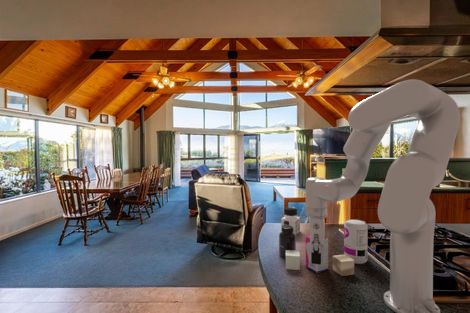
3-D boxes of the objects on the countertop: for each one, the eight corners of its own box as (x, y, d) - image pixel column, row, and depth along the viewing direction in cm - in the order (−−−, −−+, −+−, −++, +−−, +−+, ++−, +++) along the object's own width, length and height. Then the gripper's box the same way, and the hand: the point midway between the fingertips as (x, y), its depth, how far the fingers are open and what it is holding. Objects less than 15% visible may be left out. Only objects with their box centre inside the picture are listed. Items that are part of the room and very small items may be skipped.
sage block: (299, 270, 89) (299, 256, 89) (285, 268, 90) (285, 255, 90) (299, 263, 94) (299, 250, 94) (285, 262, 95) (285, 250, 95)
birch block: (354, 274, 86) (354, 260, 86) (341, 276, 85) (341, 261, 84) (344, 267, 91) (344, 254, 90) (332, 269, 89) (332, 255, 89)
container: (295, 235, 125) (295, 210, 125) (281, 233, 129) (280, 208, 129) (300, 231, 132) (300, 207, 131) (286, 229, 136) (286, 205, 136)
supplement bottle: (276, 257, 100) (276, 227, 100) (281, 250, 106) (281, 223, 106) (293, 260, 97) (293, 230, 97) (297, 253, 103) (297, 225, 103)
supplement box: (328, 269, 89) (328, 238, 89) (317, 273, 86) (316, 241, 86) (316, 263, 94) (316, 233, 94) (305, 266, 92) (304, 236, 91)
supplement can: (344, 262, 94) (344, 223, 94) (343, 254, 102) (343, 218, 102) (368, 266, 91) (368, 225, 91) (365, 257, 99) (365, 219, 99)
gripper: (328, 218, 81) (328, 270, 81) (326, 206, 97) (326, 249, 98) (304, 216, 83) (304, 267, 84) (306, 205, 99) (306, 247, 100)
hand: (316, 257), depth 91 cm, fingers open, 9 cm apart
